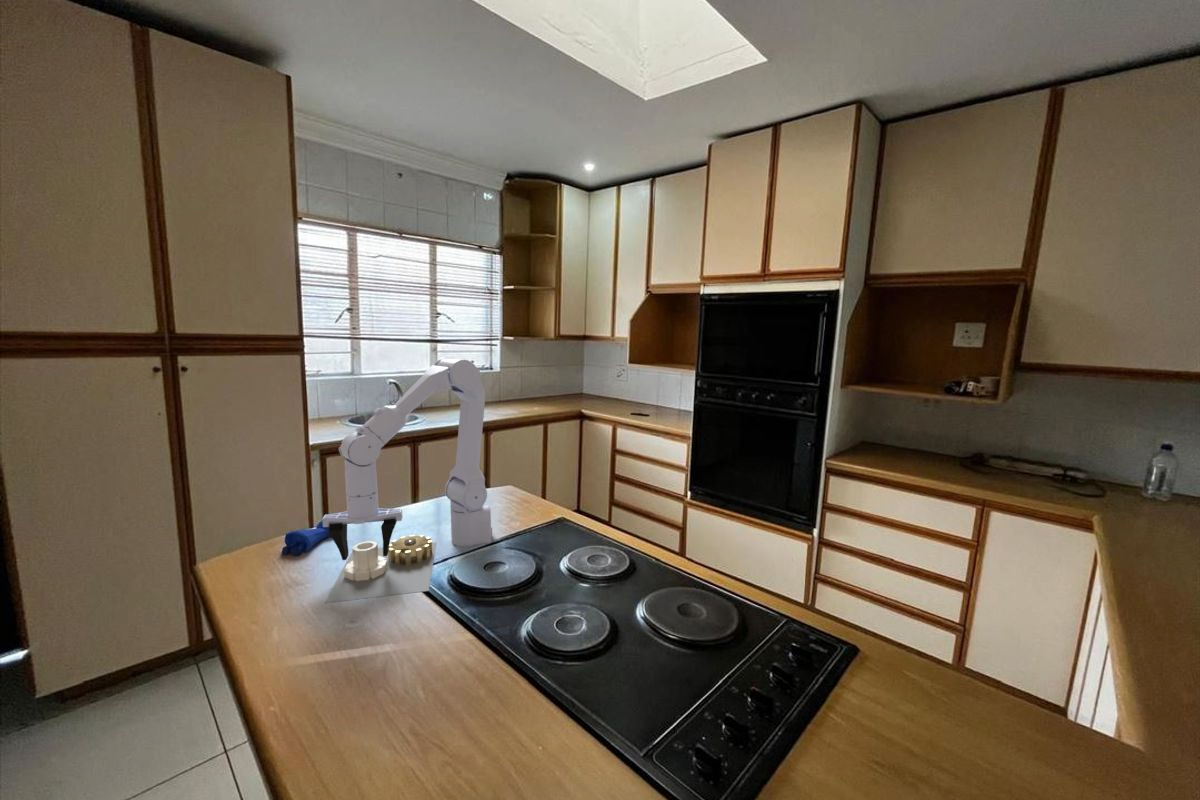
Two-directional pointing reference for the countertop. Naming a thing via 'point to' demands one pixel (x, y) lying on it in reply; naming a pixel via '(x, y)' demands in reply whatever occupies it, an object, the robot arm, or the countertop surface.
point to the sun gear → (410, 550)
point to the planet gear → (365, 562)
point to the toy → (304, 539)
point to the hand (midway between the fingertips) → (365, 555)
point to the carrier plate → (385, 581)
